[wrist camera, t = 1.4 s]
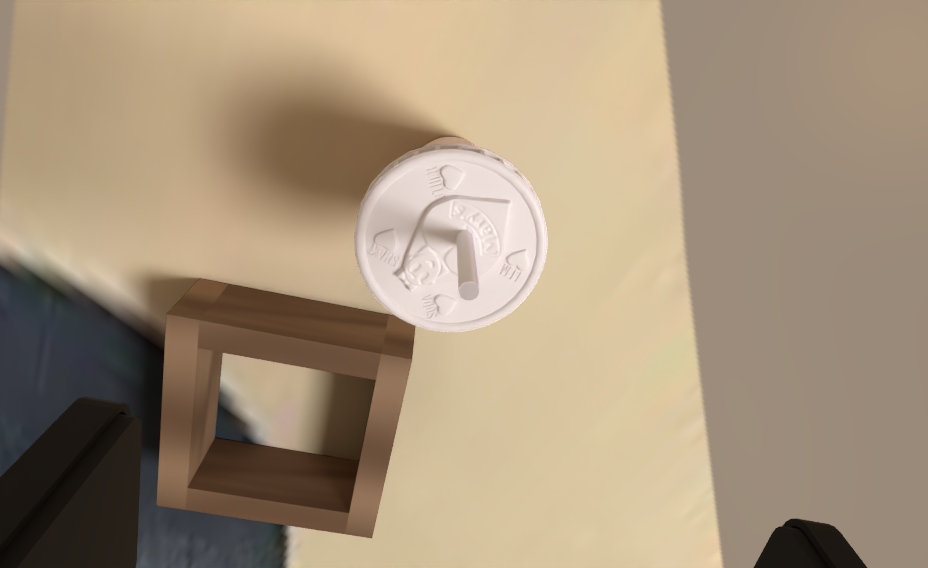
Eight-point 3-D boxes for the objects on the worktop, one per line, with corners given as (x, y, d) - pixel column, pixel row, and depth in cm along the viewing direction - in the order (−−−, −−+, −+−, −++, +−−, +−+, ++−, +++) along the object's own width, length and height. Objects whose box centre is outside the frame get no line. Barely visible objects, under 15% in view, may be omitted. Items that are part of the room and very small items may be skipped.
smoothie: (546, 187, 30) (622, 319, 17) (440, 267, 31) (435, 446, 18) (461, 75, 27) (473, 127, 15) (351, 166, 29) (275, 287, 16)
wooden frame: (199, 278, 31) (166, 314, 27) (415, 320, 32) (412, 359, 28) (187, 453, 35) (156, 505, 31) (379, 485, 36) (371, 538, 32)
